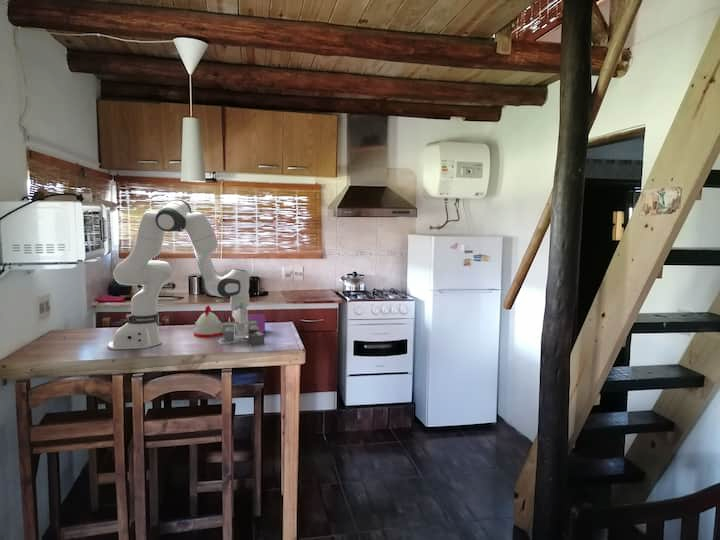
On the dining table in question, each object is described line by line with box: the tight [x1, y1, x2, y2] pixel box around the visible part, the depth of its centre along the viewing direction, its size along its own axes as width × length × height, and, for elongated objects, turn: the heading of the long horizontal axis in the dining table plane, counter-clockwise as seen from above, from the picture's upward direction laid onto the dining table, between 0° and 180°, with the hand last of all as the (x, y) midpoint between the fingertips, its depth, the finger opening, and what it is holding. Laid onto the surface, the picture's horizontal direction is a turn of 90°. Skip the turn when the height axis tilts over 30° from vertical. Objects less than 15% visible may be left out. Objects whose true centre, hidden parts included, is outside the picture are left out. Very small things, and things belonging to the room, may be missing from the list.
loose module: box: [234, 319, 246, 337], centre depth 233 cm, size 5×4×7 cm
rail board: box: [217, 321, 258, 345], centre depth 234 cm, size 20×7×9 cm, turn 116°
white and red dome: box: [193, 305, 222, 339], centre depth 246 cm, size 14×14×15 cm
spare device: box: [247, 332, 265, 347], centre depth 229 cm, size 6×5×5 cm
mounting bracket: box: [245, 313, 266, 335], centre depth 250 cm, size 9×8×18 cm
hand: (239, 330), depth 234 cm, fingers closed on loose module, 5 cm apart
